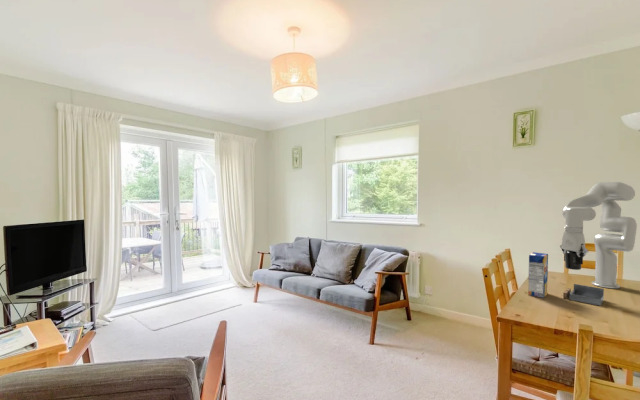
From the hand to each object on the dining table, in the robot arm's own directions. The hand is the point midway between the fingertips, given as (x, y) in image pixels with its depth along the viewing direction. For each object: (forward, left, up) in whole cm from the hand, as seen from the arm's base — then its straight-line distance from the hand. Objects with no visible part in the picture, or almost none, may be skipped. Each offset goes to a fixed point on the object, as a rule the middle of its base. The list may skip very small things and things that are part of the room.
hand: (573, 262), depth 171 cm
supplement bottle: (0, 0, -4) cm, 4 cm away
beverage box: (+13, -13, -18) cm, 26 cm away
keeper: (+5, +7, -18) cm, 20 cm away
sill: (+5, -1, -18) cm, 19 cm away
